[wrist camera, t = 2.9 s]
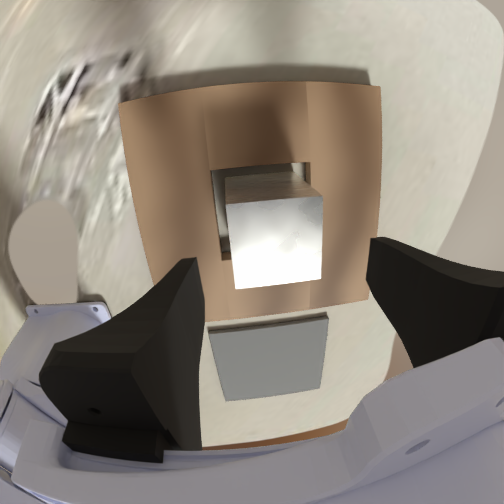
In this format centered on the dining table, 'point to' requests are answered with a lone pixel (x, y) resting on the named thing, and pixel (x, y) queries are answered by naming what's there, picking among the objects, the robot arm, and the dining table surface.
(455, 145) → the dining table surface
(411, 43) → the dining table surface
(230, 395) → the gray square plate
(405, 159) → the dining table surface
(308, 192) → the steel plug
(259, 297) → the walnut hole plate
